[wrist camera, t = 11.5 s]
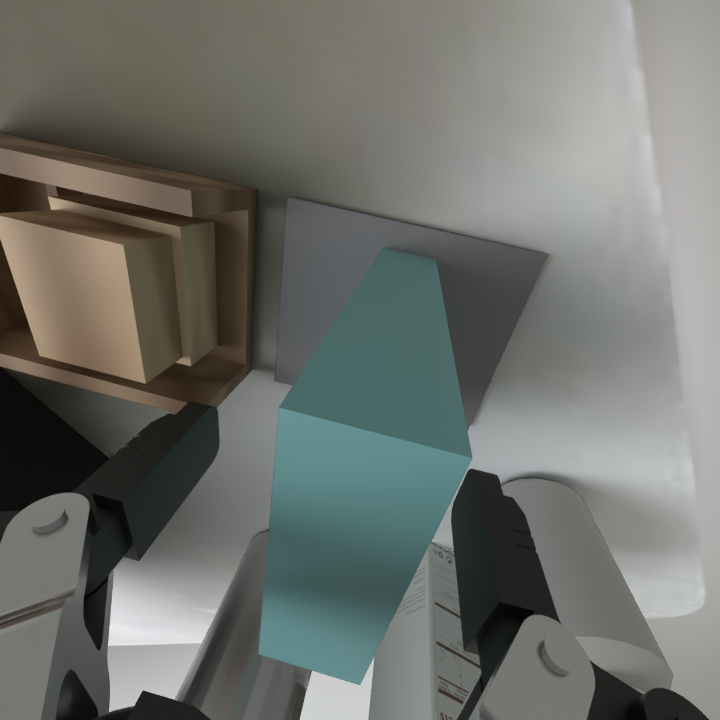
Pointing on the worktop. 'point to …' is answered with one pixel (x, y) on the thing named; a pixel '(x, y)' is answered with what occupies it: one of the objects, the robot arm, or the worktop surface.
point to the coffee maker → (38, 450)
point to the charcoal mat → (372, 233)
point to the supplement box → (424, 649)
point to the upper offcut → (95, 291)
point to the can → (589, 584)
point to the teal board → (362, 471)
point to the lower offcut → (190, 262)
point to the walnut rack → (154, 190)
